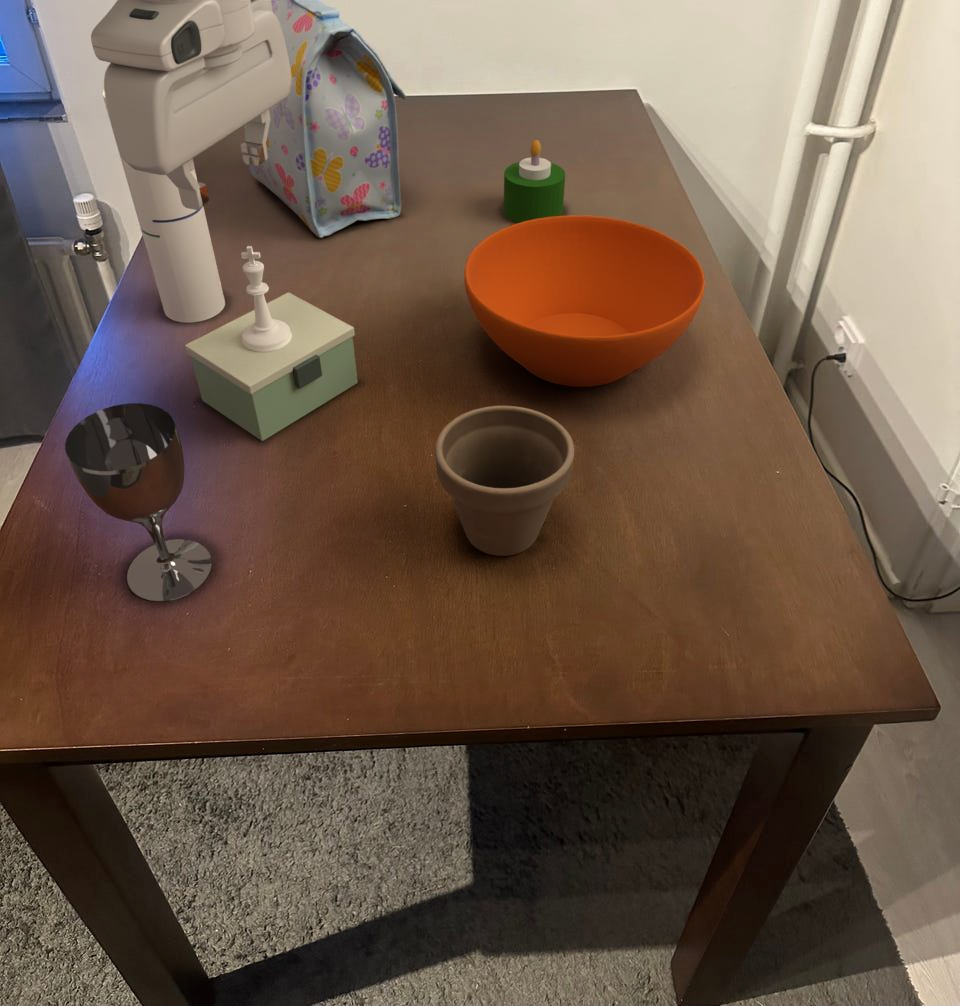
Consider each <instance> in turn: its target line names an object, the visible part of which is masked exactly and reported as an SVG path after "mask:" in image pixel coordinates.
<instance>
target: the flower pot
mask: <svg viewBox="0 0 960 1006" xmlns="http://www.w3.org/2000/svg"><path fill="white" fill-rule="evenodd" d="M434 448H435V449H434V456H435V468H436V475H437V478H438V481H439V482H440V485H441V487H442V488H443V489H444V490H445V492H446V493H447V494H448V495H449V496H451V497H452V498H453V502H454V505H455V508H456V512H457V514H458V518H459V520H460V523H461V525H462V528H463V531H464V533H465V536H466V538H467V539H468V541H469V543H470V544H471V545H472V546H473V547H474V548H476V549H477V550H478V551H481V552H483V553H484V554H488V555H490V556H495V557H508V556H513V555H518V554H521V553H523V552H525V551H526V550H528V549H529V548H530V547H531V546H533V544H534V543H535V541H536V540H537V538H538V536H539V535H540V533H541V530H542V528H543V525H544V524H545V522H546V519H547V516H548V515H549V514H548V513H549V511H550V509H551V507H552V505H553V501H554V499H555V498H557V497H558V496H559V495H560V494H562V493H563V491H564V490H565V489H566V488H567V485H568V484H569V482H570V480H571V476H572V472H573V464H574V460H575V453H576V451H575V444H574V440H573V438H572V436H571V435H570V433H569V431H568V430H567V429H566V428H565V427H564V426H563V425H562V424H561V423H559V422H558V421H557V420H556V419H553V418H552V417H551V416H549V415H546V414H544V413H542V412H540V411H537V410H534V409H531V408H526V407H522V406H514V405H492V406H486V407H485V406H484V407H479V408H476V409H472V410H469V411H467V412H465V413H462V414H460V415H459V416H457V417H455V418H453V419H452V420H451V421H450V422H448V424H446V425H445V426H444V427H443V429H442V430H441V431H440V433H439V435H438V437H437V439H436V442H435V447H434Z"/></svg>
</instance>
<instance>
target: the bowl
mask: <svg viewBox="0 0 960 1006" xmlns="http://www.w3.org/2000/svg"><path fill="white" fill-rule="evenodd" d="M463 272H464V273H463V276H464V277H463V279H464V280H463V282H464V287H465V291H466V296H467V299H468V302H469V304H470V307H471V309H472V311H473V313H474V316H475V317H476V319H477V321H478V323H479V324H480V325H481V327H482V329H483V331H485V333H486V334H487V336H488V337H489V338H490V339H491V340H492V341H493V343H495V344H496V345H497V346H498V347H499V349H500V350H501V351H503V352H504V353H505V355H508V357H510V358H511V359H512V360H514V361H515V362H516V363H518V364H519V365H521V366H522V367H524V369H526V371H528V372H529V373H530V374H531V375H534V376H535V377H537V378H539V379H541V380H544V381H547V382H550V383H553V384H556V385H559V386H560V385H561V386H567V387H577V388H585V387H586V388H589V387H597V386H602V385H607V384H610V383H613V382H615V381H618V380H620V379H622V378H624V377H625V376H628V374H630V373H633V372H634V371H636V370H638V369H640V368H643V367H644V366H646V365H647V364H649V363H650V362H652V361H654V360H656V358H658V357H659V356H661V355H662V354H663V353H664V352H665V351H667V350H668V349H669V348H670V347H671V346H672V345H674V343H675V342H676V341H678V340H679V339H680V338H681V336H682V335H683V334H684V332H685V331H686V330H687V329H688V328H689V326H690V324H691V323H692V321H693V320H694V318H695V316H696V314H697V312H698V310H699V308H700V306H701V305H702V301H703V298H704V294H705V289H706V279H705V273H704V271H703V268H702V266H701V264H700V262H699V260H698V259H697V258H696V257H695V256H694V255H693V253H691V251H689V249H688V248H686V247H685V245H683V244H682V243H680V242H679V241H677V240H675V239H674V238H672V237H670V236H669V235H666V234H665V233H663V232H661V231H658V230H656V229H653V228H651V227H648V226H646V225H642V224H638V223H635V222H632V221H628V220H624V219H617V218H612V217H607V216H597V215H596V216H595V215H583V214H582V215H579V214H578V215H562V216H554V217H545V218H538V219H533V220H529V221H525V222H521V223H515V224H511V225H509V226H507V227H504V228H501V229H499V230H498V231H495V232H493V233H491V234H490V235H488V236H487V237H485V238H484V239H483V240H482V241H480V242H479V243H478V244H477V245H476V246H475V248H473V250H472V251H471V252H470V253H469V256H468V258H467V260H466V263H465V267H464V271H463Z"/></svg>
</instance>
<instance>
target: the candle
mask: <svg viewBox="0 0 960 1006" xmlns="http://www.w3.org/2000/svg"><path fill="white" fill-rule="evenodd" d="M529 151H530V157H526V158H523V159H521V160H520V161H518V162H515V163H512V164H510V165H509V166H507V167H506V168H505V169H504V172H503V215H504V217H506V219H508V220H509V221H511V222H513V223H515V224H517V223H521V222H525V221H529V220H533V219H538V218H545V217H554V216H563V213H564V201H565V186H566V171H565V170H564V169H563V167H561V166H559V165H558V164H555V163H553V162H551V161H550V160H548V159H546V158H543V157H540V155H541V151H542V144H541V143H540V140H538V139H534V140H533V141H532V143H531V145H530V150H529Z"/></svg>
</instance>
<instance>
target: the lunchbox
mask: <svg viewBox="0 0 960 1006" xmlns="http://www.w3.org/2000/svg"><path fill="white" fill-rule="evenodd" d="M266 303H267V306H268V309H269V312H270V315H271V318H272V319H275V320H280V321H282V322H284V323H286V324H287V325H288V326H289V328H290V331H291V333H292V338H291V340H290V342H289V343H288V344H287V345H285V346H284V347H282V348H280V349H277V350H274V351H269V352H257V351H253V350H250V349H248V348H246V347H245V346H244V344H243V342H242V332H243V330H244V329H245V328H246V327H247V326H248V325H250V324H251V323H253V322H255V309H253V310H251V311H249V312H247V313H245V314H243V315H241V316H239V317H237V318H235V319H233V320H232V321H229V322H227V323H225V324H223V325H222V326H220V327H217V328H215V329H213V330H212V331H210V332H207V333H205V334H204V335H202V336H200V337H198V338H196V339H194V340H191V341H190V342H188V343H186V344H185V345H184V348H185V352H186V354H187V355H189V357H190V361H191V365H192V367H193V371H194V375H195V379H196V382H197V386H198V389H199V393H200V397H201V400H202V402H203V403H205V404H206V405H208V406H209V407H211V408H213V409H214V410H216V411H217V412H218V413H220V414H221V415H223V416H225V417H226V418H227V419H229V420H230V421H232V422H233V423H235V424H236V425H238V427H241V428H242V429H243V430H245V431H246V432H248V433H249V434H251V435H252V436H254V437H256V438H257V439H258V440H260V441H262V442H264V441H266V440H267V439H268V438H270V437H272V436H273V435H275V434H277V433H278V432H280V431H281V430H283V429H285V428H286V427H289V425H292V424H293V423H295V422H296V421H298V420H300V419H301V418H303V417H304V416H306V415H308V414H309V413H311V412H313V411H314V410H316V409H318V408H319V407H321V406H322V405H324V404H326V403H328V402H329V401H331V400H332V399H334V398H335V397H337V396H339V395H341V394H342V393H344V392H346V391H347V390H349V389H350V388H352V387H353V386H355V385H357V384H358V383H359V380H358V373H357V364H356V355H355V346H354V339H353V338H354V337H355V335H356V333H355V327H354V326H352V325H350V324H348V323H347V322H345V321H344V320H341V319H339V318H337V317H335V316H333V315H331V314H330V313H328V312H326V311H324V310H322V309H320V308H319V307H317V306H315V305H313V304H311V303H310V302H308V301H305V300H304V299H302V298H300V297H298V296H296V295H295V294H293V293H291V292H286V293H284V294H282V295H280V296H279V297H277V298H274V299H272V300H270V301H268V302H266Z"/></svg>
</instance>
